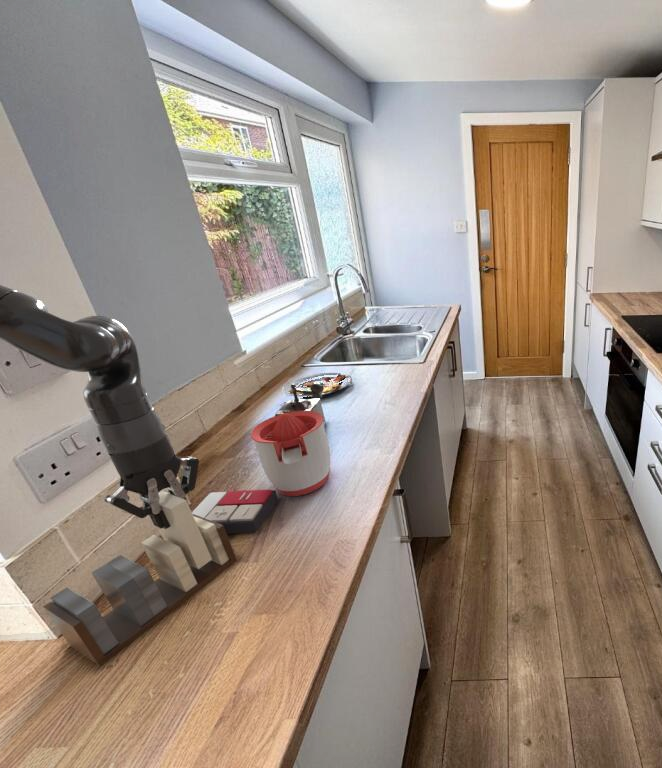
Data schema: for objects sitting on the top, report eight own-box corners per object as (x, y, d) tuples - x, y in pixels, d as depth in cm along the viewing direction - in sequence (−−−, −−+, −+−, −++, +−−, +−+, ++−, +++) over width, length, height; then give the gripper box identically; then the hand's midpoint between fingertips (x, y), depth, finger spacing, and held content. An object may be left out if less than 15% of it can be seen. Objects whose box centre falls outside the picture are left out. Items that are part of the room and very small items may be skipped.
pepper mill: (280, 443, 122) (263, 389, 115) (294, 425, 132) (279, 374, 125) (333, 439, 123) (320, 385, 116) (342, 421, 133) (331, 371, 126)
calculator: (252, 519, 86) (177, 522, 85) (257, 534, 88) (183, 538, 86) (275, 487, 96) (209, 489, 95) (279, 501, 98) (213, 504, 96)
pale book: (172, 557, 77) (143, 498, 72) (186, 547, 79) (159, 489, 74) (198, 569, 74) (170, 508, 69) (212, 559, 76) (186, 499, 71)
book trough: (69, 645, 65) (39, 601, 61) (208, 547, 84) (192, 509, 80) (100, 666, 62) (69, 622, 58) (237, 560, 80) (221, 521, 77)
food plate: (361, 377, 170) (359, 369, 169) (337, 401, 149) (335, 392, 147) (303, 377, 171) (301, 370, 170) (271, 401, 150) (269, 393, 149)
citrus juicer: (268, 515, 92) (242, 440, 84) (271, 475, 107) (249, 408, 99) (340, 494, 99) (323, 422, 91) (334, 459, 113) (318, 394, 105)
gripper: (169, 416, 74) (201, 493, 80) (69, 456, 62) (116, 542, 69) (195, 423, 71) (226, 502, 78) (95, 466, 59) (142, 555, 66)
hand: (174, 520), depth 73 cm, fingers closed on pale book, 2 cm apart
